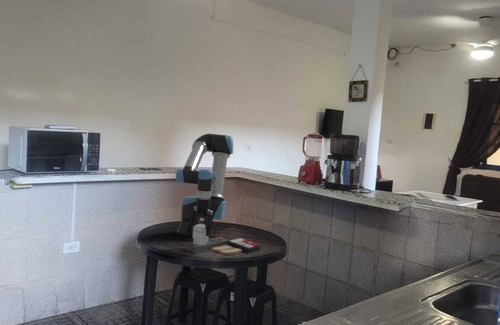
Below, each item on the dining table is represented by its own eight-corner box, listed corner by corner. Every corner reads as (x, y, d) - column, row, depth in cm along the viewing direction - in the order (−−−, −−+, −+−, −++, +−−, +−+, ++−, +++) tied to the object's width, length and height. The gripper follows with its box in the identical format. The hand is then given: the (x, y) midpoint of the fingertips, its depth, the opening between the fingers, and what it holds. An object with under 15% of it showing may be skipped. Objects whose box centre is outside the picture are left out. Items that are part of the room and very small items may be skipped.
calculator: (249, 247, 224) (228, 239, 232) (248, 255, 224) (227, 247, 233) (260, 244, 232) (240, 237, 241) (259, 251, 233) (239, 244, 242)
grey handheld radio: (195, 253, 216) (195, 246, 215) (184, 249, 221) (185, 242, 220) (234, 243, 240) (234, 237, 240) (224, 240, 245) (224, 234, 245)
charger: (192, 246, 223) (194, 224, 222) (199, 245, 227) (201, 223, 226) (199, 249, 220) (201, 226, 219) (206, 247, 224) (208, 225, 223)
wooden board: (211, 250, 224) (211, 247, 224) (225, 246, 233) (226, 244, 233) (227, 255, 216) (227, 253, 216) (242, 251, 226) (242, 249, 226)
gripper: (185, 195, 225) (182, 236, 227) (212, 202, 212) (209, 245, 214) (195, 194, 231) (191, 234, 233) (222, 200, 218) (218, 243, 220)
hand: (200, 239), depth 223 cm, fingers open, 8 cm apart
